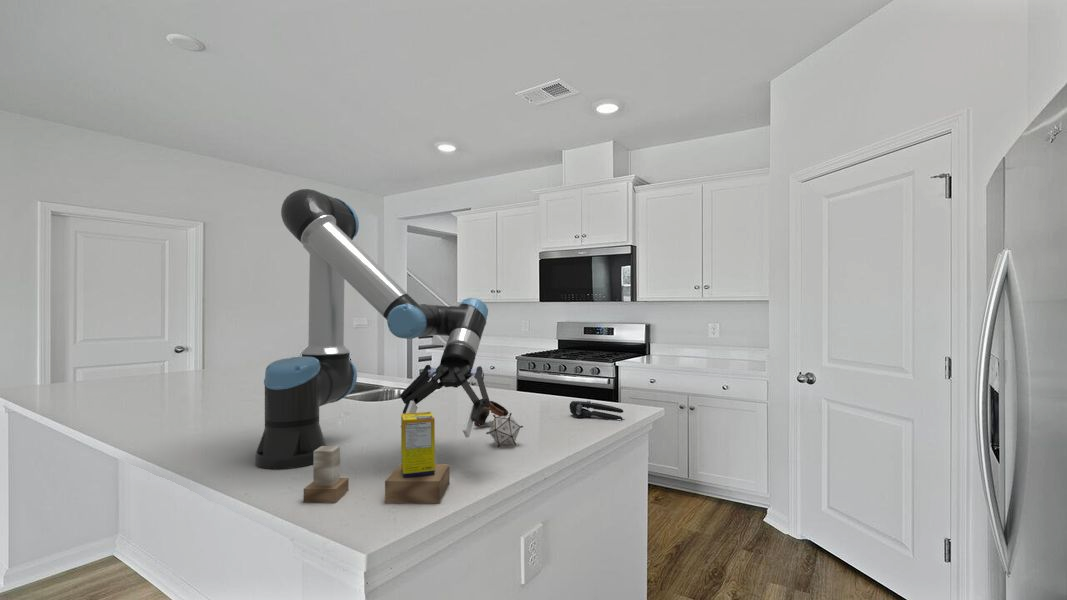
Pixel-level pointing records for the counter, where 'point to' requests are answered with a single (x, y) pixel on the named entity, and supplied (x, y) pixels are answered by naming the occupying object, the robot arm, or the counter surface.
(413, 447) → the supplement box
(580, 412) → the can opener
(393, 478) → the plinth
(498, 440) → the game die
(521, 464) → the counter surface
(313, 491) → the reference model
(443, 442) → the counter surface
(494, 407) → the brown curved piece
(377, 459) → the counter surface
